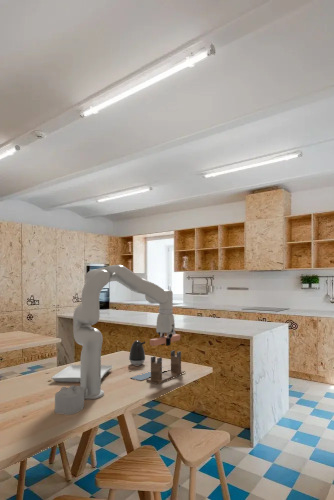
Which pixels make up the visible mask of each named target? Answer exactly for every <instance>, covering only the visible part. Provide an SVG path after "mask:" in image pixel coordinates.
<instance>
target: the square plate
mask: <svg viewBox="0 0 334 500" xmlns="http://www.w3.org/2000/svg"><path fill="white" fill-rule="evenodd" d="M113 367H114V365H111V364H110V365H109V364H101V379H103V377H104V376H105V375H106V374H107V373H108V372H110V370H111V371H112V368H113ZM80 369H81V364H70V365H68V366H67V367H65V368H63V369H62V370H60V371H59V372H57V373H56V374H55V375H53V376H52V377H51V379H52V380H53V381H56V382H63V383H80Z"/></svg>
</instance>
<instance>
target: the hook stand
mask: <svg viewBox="0 0 334 500" xmlns="http://www.w3.org/2000/svg"><path fill="white" fill-rule="evenodd" d="M162 359H163V357H158V358H157V357H156V356H155V355H154V356H153V355H152V356H150V371H151V378H148V379H146V382H147V383H150V382H151V384H154V383H156V385H160V384H163V383H165V382H167V380H168V381H170V380H172V379H171V378H173V377H175V378H177V377H179V376H178V375H180V374H182V373H184V372H185V373H186V371H185V370H182V351H175V350H171V351H170V369H171V370H169V371H167V372H164V373H162V368H163V364H162V363H163V360H162ZM182 375H183V374H182ZM176 376H177V377H176ZM180 376H181V375H180ZM169 379H170V380H169ZM173 379H174V378H173ZM164 381H165V382H164ZM162 382H163V383H162Z"/></svg>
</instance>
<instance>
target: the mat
mask: <svg viewBox="0 0 334 500" xmlns="http://www.w3.org/2000/svg"><path fill="white" fill-rule="evenodd" d="M147 372H148V371H147ZM144 373H145V372H144ZM141 374H142V375H140V374H137V375H134V376H131V377H130V378H132V379H131V380H134V379H136V380H135V381H139V380H140V381H139V382H142V381H141V380H143V381H145V380H147V378H148V379H149V377H151V372H148V373H145V374H143V373H141ZM144 379H145V380H144Z"/></svg>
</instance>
